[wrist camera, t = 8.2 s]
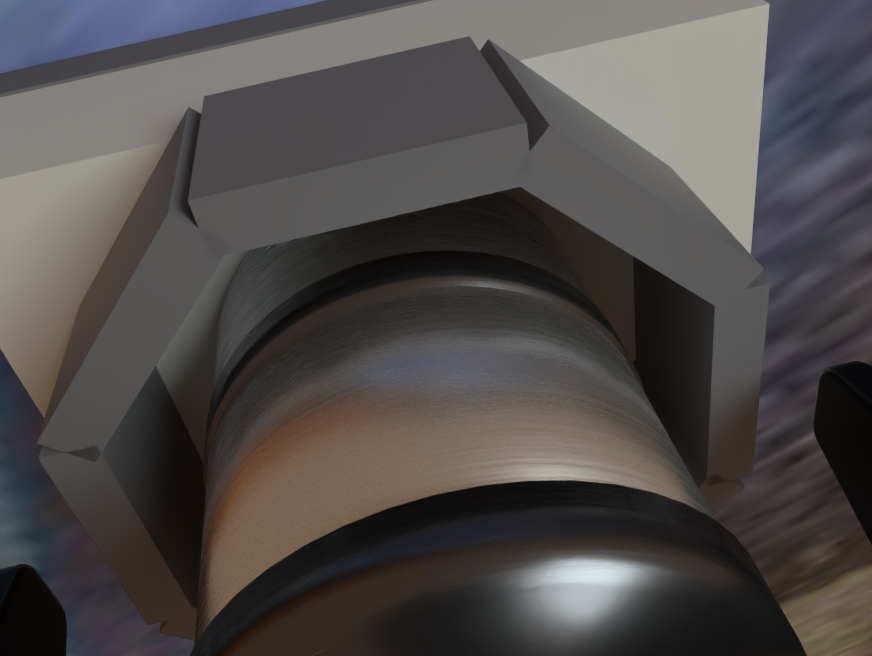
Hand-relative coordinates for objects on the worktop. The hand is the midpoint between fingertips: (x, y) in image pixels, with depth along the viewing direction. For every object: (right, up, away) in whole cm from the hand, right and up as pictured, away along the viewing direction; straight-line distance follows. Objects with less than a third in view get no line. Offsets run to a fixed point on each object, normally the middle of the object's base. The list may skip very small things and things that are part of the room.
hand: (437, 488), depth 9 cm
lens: (0, +2, +2) cm, 3 cm away
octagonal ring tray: (-1, +4, +5) cm, 7 cm away
